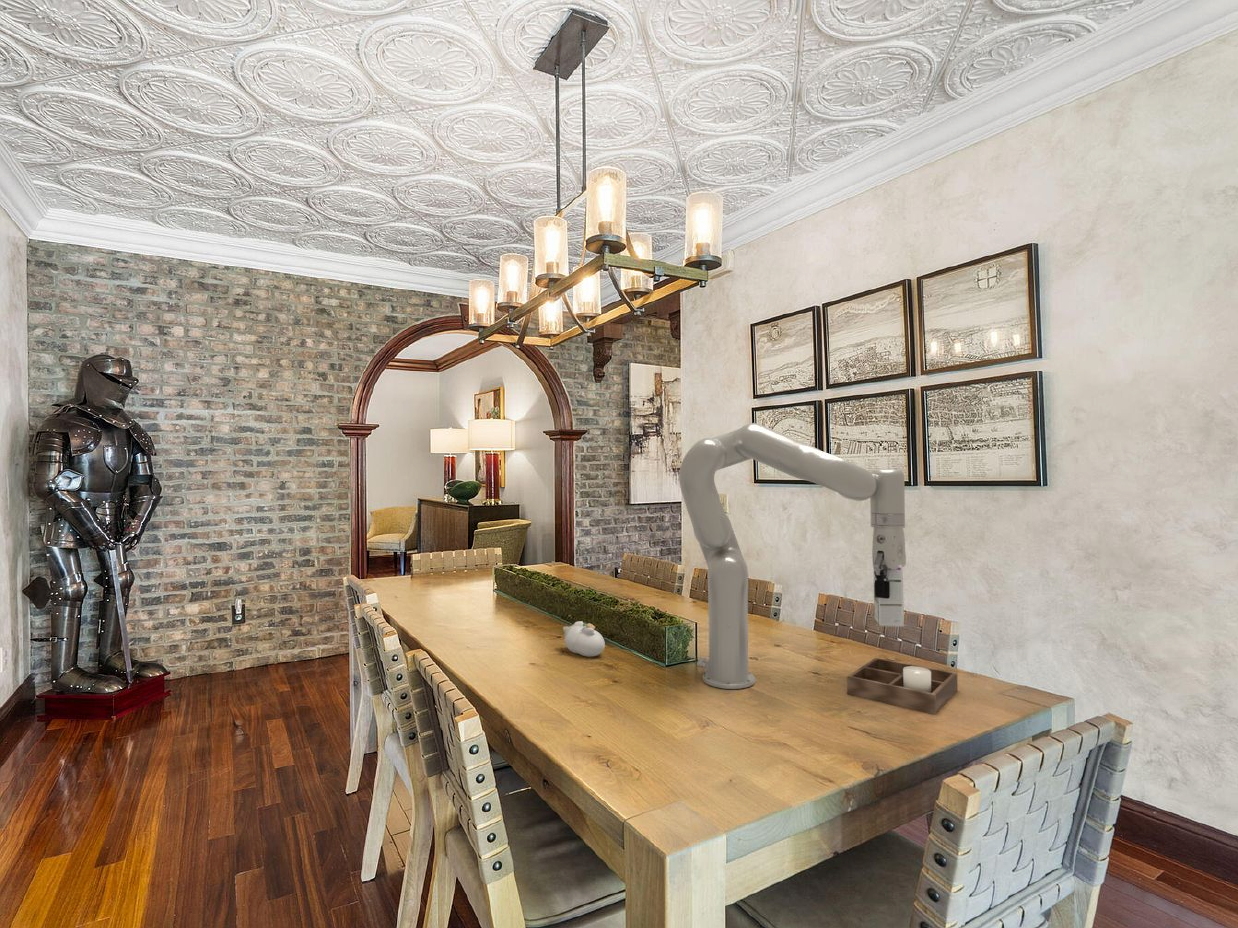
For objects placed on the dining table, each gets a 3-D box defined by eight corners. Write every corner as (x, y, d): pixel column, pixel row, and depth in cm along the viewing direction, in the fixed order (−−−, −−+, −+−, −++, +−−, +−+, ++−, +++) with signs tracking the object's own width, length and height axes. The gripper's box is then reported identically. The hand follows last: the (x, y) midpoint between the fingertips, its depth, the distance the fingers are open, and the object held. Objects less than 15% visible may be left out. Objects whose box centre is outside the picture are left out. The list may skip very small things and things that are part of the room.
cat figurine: (606, 624, 176) (568, 610, 186) (587, 644, 171) (550, 628, 181) (615, 649, 180) (578, 634, 190) (598, 669, 175) (560, 652, 185)
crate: (847, 698, 144) (847, 676, 144) (875, 677, 158) (875, 657, 158) (935, 719, 132) (934, 694, 132) (957, 694, 146) (957, 672, 146)
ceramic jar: (900, 702, 138) (899, 670, 138) (908, 695, 142) (907, 664, 142) (927, 708, 135) (926, 675, 135) (934, 701, 139) (934, 669, 139)
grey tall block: (904, 627, 148) (904, 564, 148) (877, 626, 149) (877, 564, 149) (899, 621, 153) (898, 561, 153) (873, 620, 154) (872, 560, 154)
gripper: (891, 524, 142) (892, 603, 142) (915, 519, 155) (916, 591, 155) (858, 522, 147) (858, 598, 147) (883, 517, 160) (884, 587, 160)
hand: (888, 594), depth 151 cm, fingers closed on grey tall block, 7 cm apart
